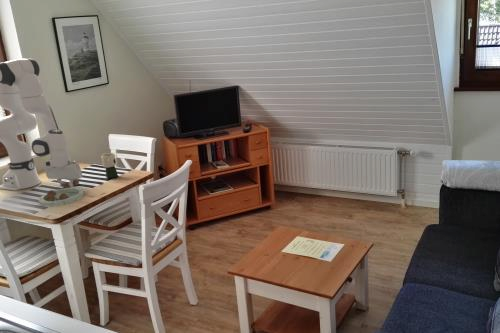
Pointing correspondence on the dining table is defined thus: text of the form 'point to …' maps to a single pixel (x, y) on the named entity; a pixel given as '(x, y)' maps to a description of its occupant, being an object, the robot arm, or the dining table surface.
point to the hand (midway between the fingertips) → (66, 186)
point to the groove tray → (72, 196)
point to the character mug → (109, 165)
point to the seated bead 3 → (63, 196)
